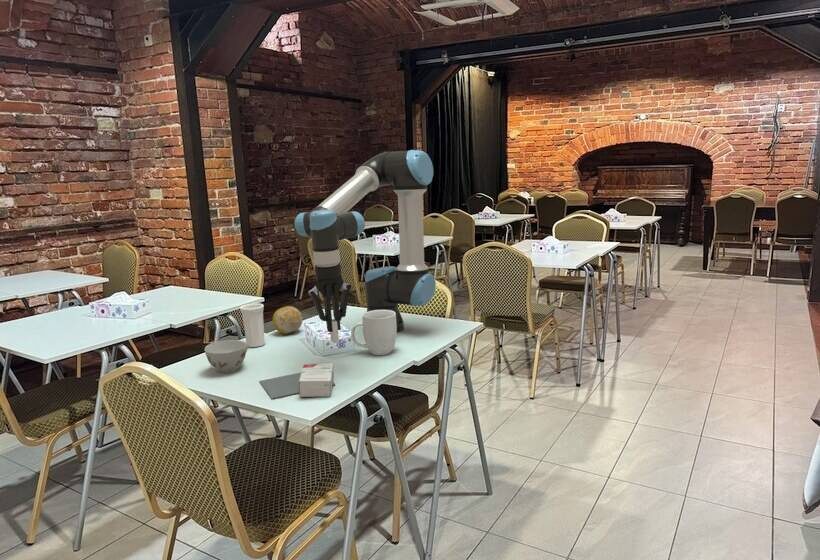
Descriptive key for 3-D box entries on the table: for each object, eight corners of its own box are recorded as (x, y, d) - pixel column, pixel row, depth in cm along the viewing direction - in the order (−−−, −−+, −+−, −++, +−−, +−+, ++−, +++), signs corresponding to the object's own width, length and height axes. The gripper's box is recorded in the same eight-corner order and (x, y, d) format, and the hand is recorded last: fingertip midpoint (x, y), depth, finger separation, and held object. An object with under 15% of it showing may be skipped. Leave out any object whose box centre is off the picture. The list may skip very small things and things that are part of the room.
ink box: (304, 378, 167) (298, 398, 156) (303, 362, 165) (297, 381, 154) (334, 378, 167) (331, 397, 156) (333, 362, 166) (330, 380, 155)
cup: (250, 350, 199) (246, 310, 196) (240, 345, 205) (235, 306, 202) (271, 344, 204) (267, 305, 201) (261, 340, 210) (257, 302, 207)
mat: (318, 370, 177) (318, 368, 177) (335, 385, 163) (335, 384, 163) (259, 382, 169) (259, 380, 169) (271, 399, 156) (271, 398, 156)
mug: (351, 359, 185) (349, 319, 182) (353, 348, 196) (351, 311, 193) (398, 356, 185) (396, 317, 183) (397, 346, 196) (395, 308, 194)
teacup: (226, 379, 172) (223, 354, 170) (198, 373, 179) (195, 348, 177) (263, 363, 185) (260, 339, 183) (235, 358, 191) (233, 335, 189)
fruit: (268, 334, 217) (266, 308, 215) (291, 327, 225) (289, 302, 223) (285, 339, 210) (283, 312, 208) (308, 331, 218) (306, 306, 216)
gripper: (343, 258, 174) (350, 333, 179) (301, 265, 168) (310, 342, 173) (353, 262, 167) (360, 340, 172) (309, 269, 161) (318, 349, 167)
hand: (335, 341), depth 173 cm, fingers closed
